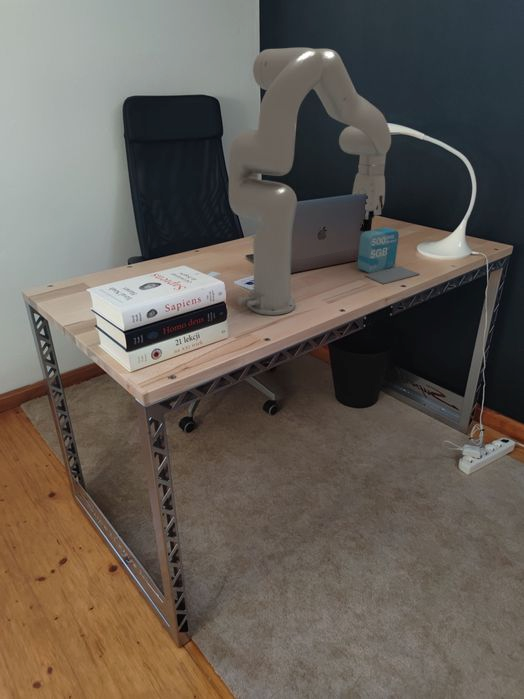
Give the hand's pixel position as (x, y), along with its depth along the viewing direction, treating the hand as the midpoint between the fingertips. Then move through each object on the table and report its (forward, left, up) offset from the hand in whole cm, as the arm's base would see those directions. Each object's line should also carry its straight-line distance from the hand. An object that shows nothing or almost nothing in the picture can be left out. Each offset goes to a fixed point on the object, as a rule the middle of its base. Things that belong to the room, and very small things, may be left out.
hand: (365, 230), depth 159 cm
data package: (0, -6, -11) cm, 13 cm away
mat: (0, -14, -11) cm, 17 cm away
